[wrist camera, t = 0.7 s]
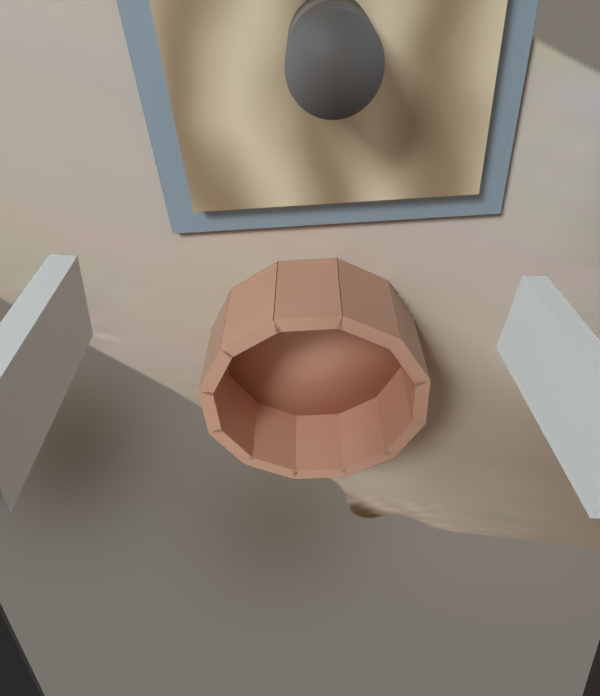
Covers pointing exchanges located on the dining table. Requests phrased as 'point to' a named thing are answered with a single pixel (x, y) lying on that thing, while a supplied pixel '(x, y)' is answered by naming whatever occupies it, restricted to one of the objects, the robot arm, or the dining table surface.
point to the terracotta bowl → (314, 371)
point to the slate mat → (185, 220)
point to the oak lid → (329, 97)
